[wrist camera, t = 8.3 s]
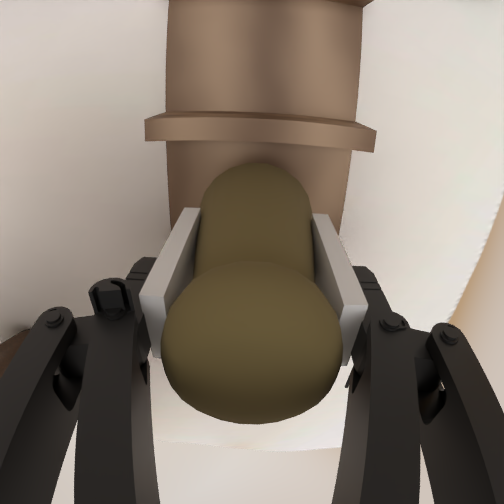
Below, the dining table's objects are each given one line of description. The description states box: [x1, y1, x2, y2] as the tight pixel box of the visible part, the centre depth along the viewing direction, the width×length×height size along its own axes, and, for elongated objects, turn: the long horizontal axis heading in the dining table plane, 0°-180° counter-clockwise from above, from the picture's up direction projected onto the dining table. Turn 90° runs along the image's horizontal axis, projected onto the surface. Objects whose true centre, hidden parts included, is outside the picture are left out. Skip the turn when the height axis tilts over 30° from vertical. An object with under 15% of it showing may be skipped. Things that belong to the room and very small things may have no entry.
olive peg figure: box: [160, 163, 343, 424], centre depth 12 cm, size 6×6×11 cm
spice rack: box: [145, 0, 377, 236], centre depth 19 cm, size 12×29×5 cm, turn 178°
